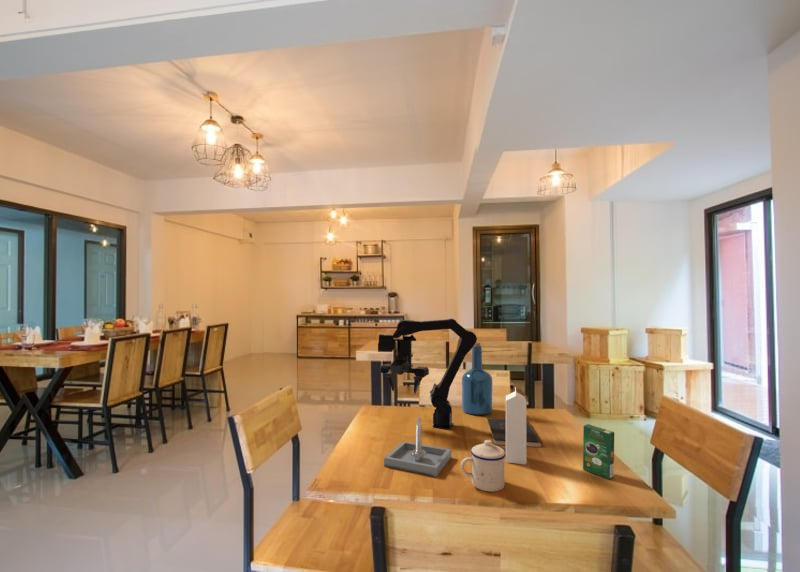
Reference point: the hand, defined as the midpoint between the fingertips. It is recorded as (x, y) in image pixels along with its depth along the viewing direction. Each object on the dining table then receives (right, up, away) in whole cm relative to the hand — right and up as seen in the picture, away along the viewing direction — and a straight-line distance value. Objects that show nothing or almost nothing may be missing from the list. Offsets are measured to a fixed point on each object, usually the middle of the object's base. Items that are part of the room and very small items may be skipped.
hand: (404, 392), depth 152 cm
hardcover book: (+40, -14, -8) cm, 43 cm away
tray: (+4, -12, -33) cm, 35 cm away
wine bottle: (+32, -14, +18) cm, 40 cm away
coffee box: (+55, -13, -40) cm, 70 cm away
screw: (+4, -12, -33) cm, 35 cm away
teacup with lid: (+21, -13, -47) cm, 53 cm away
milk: (+34, -13, -31) cm, 48 cm away
